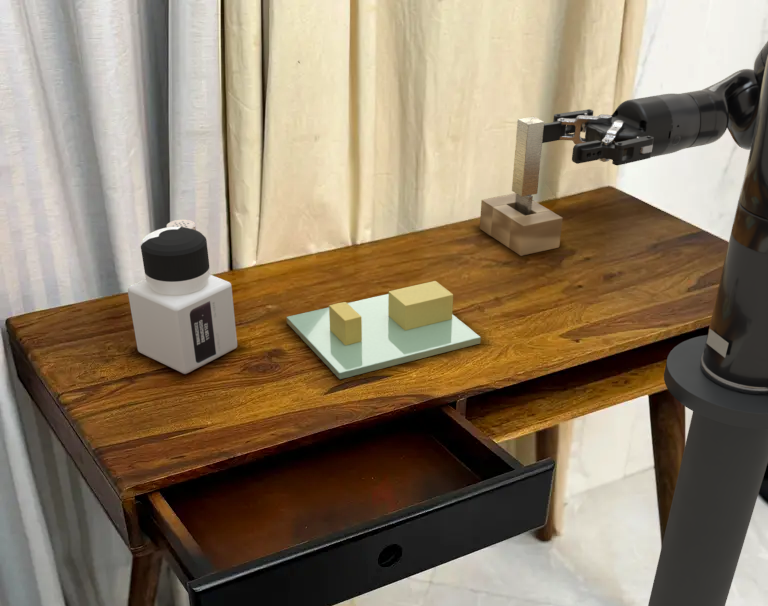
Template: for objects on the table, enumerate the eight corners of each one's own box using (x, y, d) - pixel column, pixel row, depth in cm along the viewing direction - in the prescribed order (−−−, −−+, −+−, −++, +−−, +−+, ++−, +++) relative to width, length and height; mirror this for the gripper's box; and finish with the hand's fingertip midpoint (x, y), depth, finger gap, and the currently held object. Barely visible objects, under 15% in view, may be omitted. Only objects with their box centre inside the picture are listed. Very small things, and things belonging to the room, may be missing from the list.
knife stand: (479, 228, 132) (481, 199, 130) (516, 220, 135) (519, 192, 132) (520, 256, 125) (523, 225, 123) (559, 247, 128) (563, 217, 125)
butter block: (388, 315, 111) (388, 291, 109) (434, 304, 113) (435, 280, 111) (404, 330, 108) (405, 305, 106) (452, 319, 110) (453, 294, 108)
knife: (506, 234, 131) (516, 118, 122) (521, 231, 132) (532, 115, 122) (519, 242, 129) (529, 124, 119) (534, 239, 130) (546, 122, 120)
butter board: (286, 323, 111) (286, 316, 110) (418, 292, 117) (419, 286, 117) (339, 379, 101) (339, 373, 101) (480, 343, 107) (481, 336, 107)
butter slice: (329, 330, 108) (328, 305, 106) (346, 326, 109) (345, 301, 107) (345, 345, 105) (344, 320, 103) (362, 341, 106) (361, 316, 104)
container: (239, 348, 106) (227, 232, 98) (185, 376, 102) (168, 257, 94) (191, 326, 110) (176, 213, 102) (136, 352, 105) (116, 236, 97)
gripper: (625, 83, 133) (525, 98, 127) (697, 111, 123) (592, 129, 117) (617, 139, 138) (520, 157, 132) (686, 171, 128) (584, 192, 122)
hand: (554, 144), depth 124 cm, fingers open, 8 cm apart
